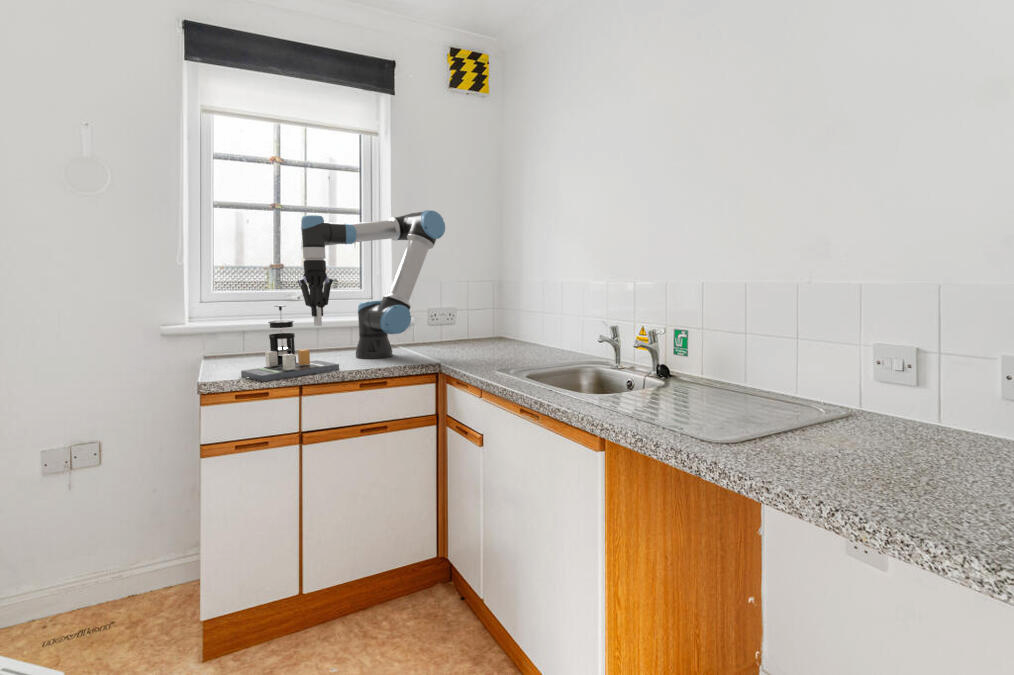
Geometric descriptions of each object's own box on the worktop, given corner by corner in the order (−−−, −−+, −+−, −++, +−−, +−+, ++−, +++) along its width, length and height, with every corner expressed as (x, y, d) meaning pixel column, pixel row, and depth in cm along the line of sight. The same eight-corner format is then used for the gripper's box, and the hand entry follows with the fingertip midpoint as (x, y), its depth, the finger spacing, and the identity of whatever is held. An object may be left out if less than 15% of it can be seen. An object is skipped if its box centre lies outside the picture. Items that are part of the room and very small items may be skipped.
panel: (316, 365, 200) (315, 345, 199) (339, 369, 190) (338, 349, 189) (241, 376, 179) (239, 354, 178) (262, 381, 169) (261, 358, 168)
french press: (280, 362, 207) (277, 304, 204) (302, 363, 205) (299, 304, 203) (262, 368, 195) (258, 306, 193) (285, 368, 194) (281, 306, 191)
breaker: (306, 363, 190) (305, 349, 189) (310, 363, 188) (309, 350, 188) (298, 364, 187) (297, 350, 187) (302, 365, 186) (301, 351, 185)
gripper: (325, 260, 195) (328, 323, 198) (291, 259, 186) (295, 326, 188) (336, 259, 191) (339, 324, 193) (302, 259, 181) (306, 327, 184)
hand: (318, 325), depth 191 cm, fingers closed
